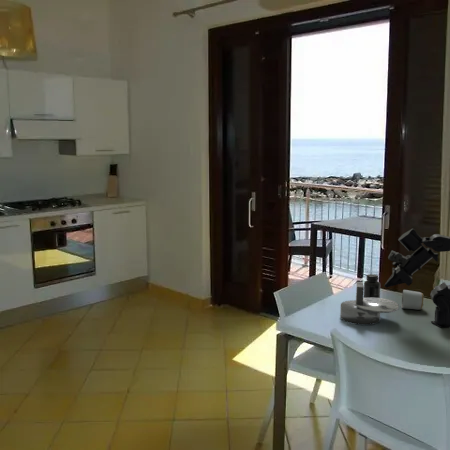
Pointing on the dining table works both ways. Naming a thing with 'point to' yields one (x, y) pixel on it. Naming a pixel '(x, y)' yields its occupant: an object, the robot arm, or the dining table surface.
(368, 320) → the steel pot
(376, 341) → the dining table surface
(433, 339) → the dining table surface
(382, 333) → the dining table surface
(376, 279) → the supplement bottle
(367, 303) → the grey disc with post
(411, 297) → the grey rounded block
